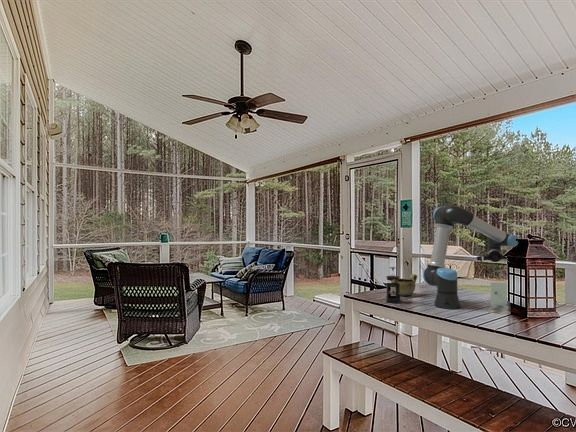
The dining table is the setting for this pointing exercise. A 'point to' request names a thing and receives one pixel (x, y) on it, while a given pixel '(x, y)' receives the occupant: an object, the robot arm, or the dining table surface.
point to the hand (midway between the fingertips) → (495, 259)
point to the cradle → (500, 309)
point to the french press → (393, 298)
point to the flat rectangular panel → (498, 293)
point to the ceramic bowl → (405, 285)
